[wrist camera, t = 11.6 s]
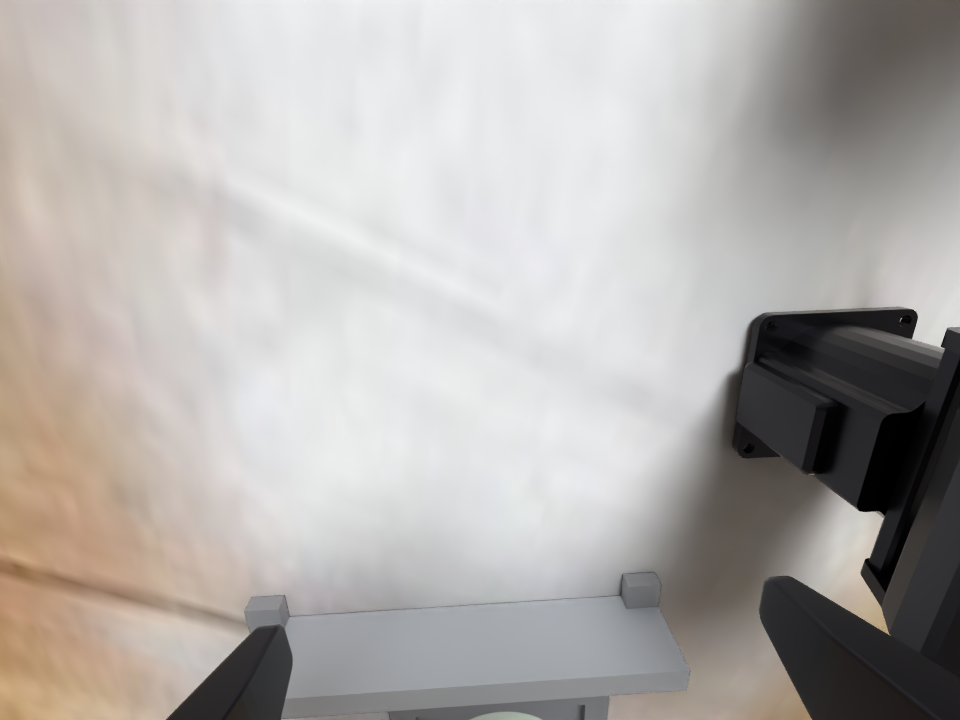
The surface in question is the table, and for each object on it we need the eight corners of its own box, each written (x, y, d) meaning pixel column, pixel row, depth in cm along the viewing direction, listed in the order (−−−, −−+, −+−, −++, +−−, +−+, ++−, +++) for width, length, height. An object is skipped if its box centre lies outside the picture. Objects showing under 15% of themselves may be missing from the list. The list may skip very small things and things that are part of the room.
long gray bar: (654, 572, 22) (694, 646, 19) (647, 631, 24) (683, 711, 20) (251, 597, 22) (207, 679, 18) (267, 656, 23) (229, 745, 19)
